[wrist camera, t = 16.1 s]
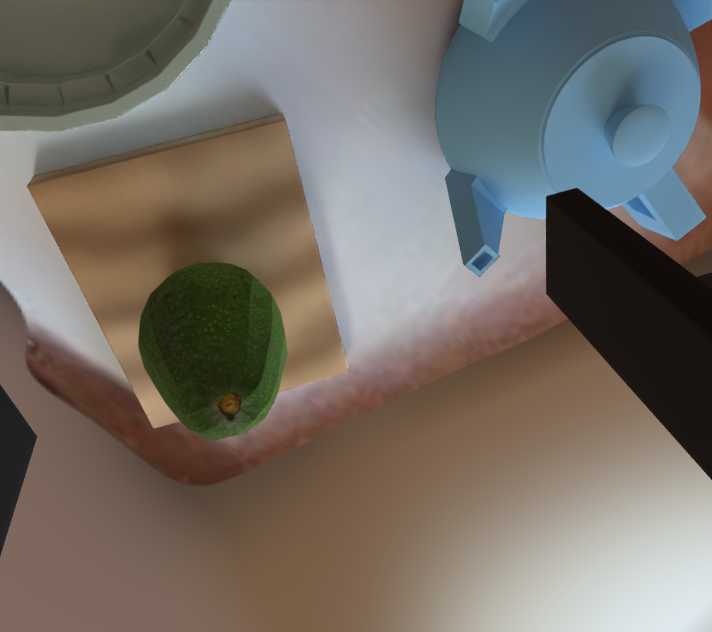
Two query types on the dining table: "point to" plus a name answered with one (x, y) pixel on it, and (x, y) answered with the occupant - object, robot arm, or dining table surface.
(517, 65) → the teapot
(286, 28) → the dining table surface
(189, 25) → the bowl
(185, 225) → the board
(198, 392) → the avocado
